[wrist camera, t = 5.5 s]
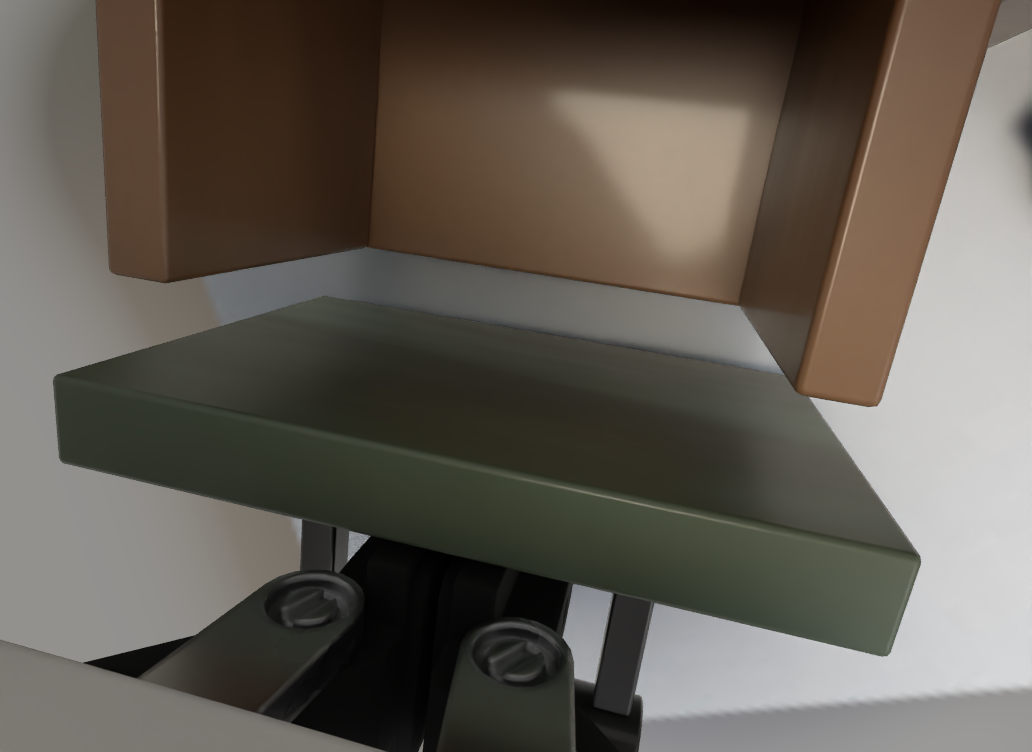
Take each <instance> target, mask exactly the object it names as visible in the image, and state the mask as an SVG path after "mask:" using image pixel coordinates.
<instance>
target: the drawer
mask: <svg viewBox="0 0 1032 752" xmlns="http://www.w3.org/2000/svg"><path fill="white" fill-rule="evenodd" d="M1000 4H1001V0H96V19H97V37H98V38H97V39H98V57H99V78H100V98H101V117H102V137H103V157H104V175H105V196H106V214H107V233H108V255H109V269H110V271H111V272H112V273H114V274H117V275H122V276H127V277H133V278H139V279H145V280H150V281H156V282H161V283H170V282H175V281H180V280H187V279H192V278H198V277H204V276H209V275H215V274H221V273H226V272H232V271H238V270H243V269H249V268H255V267H260V266H266V265H272V264H277V263H283V262H288V261H294V260H300V259H305V258H311V257H317V256H322V255H328V254H334V253H339V252H345V251H351V250H356V249H362V248H366V247H367V248H373V249H379V250H386V251H392V252H399V253H405V254H411V255H418V256H424V257H430V258H437V259H443V260H450V261H456V262H462V263H469V264H475V265H481V266H488V267H494V268H500V269H507V270H513V271H520V272H526V273H532V274H539V275H545V276H551V277H558V278H564V279H570V280H577V281H583V282H590V283H596V284H602V285H609V286H615V287H621V288H628V289H634V290H640V291H647V292H653V293H660V294H666V295H672V296H679V297H685V298H691V299H698V300H704V301H711V302H717V303H723V304H730V305H736V306H740V307H741V309H742V310H743V312H744V314H745V315H746V317H747V318H748V320H749V321H750V323H751V324H752V326H753V327H754V329H755V330H756V332H757V333H758V335H759V336H760V338H761V340H762V341H763V343H764V344H765V346H766V347H767V349H768V350H769V352H770V353H771V355H772V356H773V358H774V359H775V361H776V362H777V364H778V366H779V367H780V369H781V370H782V372H783V373H784V375H781V374H775V373H769V372H763V371H758V370H752V369H746V368H740V367H734V366H729V365H723V364H717V363H711V362H705V361H700V360H694V359H688V358H682V357H676V356H671V355H665V354H659V353H653V352H647V351H642V350H636V349H630V348H624V347H618V346H613V345H607V344H601V343H595V342H589V341H584V340H578V339H572V338H566V337H560V336H555V335H549V334H543V333H537V332H531V331H526V330H520V329H514V328H508V327H502V326H497V325H491V324H485V323H479V322H473V321H468V320H462V319H456V318H450V317H444V316H439V315H433V314H427V313H421V312H415V311H410V310H404V309H398V308H392V307H386V306H381V305H375V304H369V303H363V302H357V301H352V300H346V299H340V298H334V297H328V296H322V297H318V298H315V299H312V300H308V301H305V302H301V303H298V304H295V305H291V306H288V307H284V308H281V309H278V310H274V311H271V312H268V313H264V314H261V315H257V316H254V317H251V318H247V319H244V320H240V321H237V322H234V323H230V324H227V325H224V326H220V327H217V328H213V329H210V330H207V331H203V332H200V333H196V334H193V335H190V336H186V337H183V338H180V339H176V340H173V341H170V342H166V343H163V344H160V345H156V346H152V347H149V348H146V349H142V350H139V351H136V352H132V353H129V354H126V355H122V356H119V357H115V358H112V359H109V360H106V361H102V362H98V363H95V364H92V365H88V366H85V367H81V368H78V369H75V370H71V371H68V372H65V373H61V374H58V375H56V376H55V377H54V380H53V385H54V399H55V412H56V424H57V437H58V450H59V458H60V460H61V462H63V463H65V464H70V465H74V466H78V467H82V468H86V469H91V470H95V471H99V472H103V473H107V474H112V475H116V476H120V477H124V478H129V479H133V480H137V481H141V482H146V483H150V484H154V485H158V486H162V487H167V488H171V489H175V490H180V491H184V492H188V493H192V494H196V495H201V496H205V497H209V498H214V499H217V500H222V501H226V502H231V503H234V504H239V505H243V506H247V507H251V508H256V509H260V510H264V511H268V512H273V513H277V514H281V515H285V516H289V517H294V518H298V519H302V537H301V564H300V565H301V566H300V571H303V570H328V571H332V572H337V573H339V572H340V571H341V570H342V568H343V567H344V566H345V565H346V564H347V557H348V541H349V531H353V532H357V533H361V534H366V535H370V536H374V537H378V538H383V539H387V540H391V541H395V542H399V543H404V544H408V545H412V546H416V547H421V548H425V549H429V550H433V551H438V552H442V553H446V554H450V555H455V556H459V557H463V558H467V559H471V560H476V561H480V562H484V563H488V564H493V565H497V566H501V567H505V568H510V569H514V570H518V571H522V572H526V573H531V574H535V575H539V576H543V577H548V578H552V579H556V580H560V581H565V582H569V583H573V584H577V585H582V586H586V587H590V588H594V589H598V590H603V591H607V592H611V593H612V597H611V602H610V608H609V613H608V618H607V623H606V628H605V633H604V638H603V644H602V649H601V654H600V659H599V664H598V669H597V674H596V679H595V684H594V683H590V682H586V681H583V680H579V679H575V678H574V695H575V702H576V703H577V704H578V705H579V706H580V708H581V709H582V710H583V711H584V712H585V713H586V714H587V716H588V717H589V718H590V719H591V720H592V721H593V723H594V724H595V725H596V726H597V727H598V728H599V729H600V731H601V732H602V733H603V734H604V735H605V736H606V737H607V739H608V740H609V741H610V742H611V743H612V744H613V745H614V747H615V748H616V749H617V750H618V751H619V752H638V750H639V742H640V735H641V727H642V716H643V700H642V697H641V696H640V695H636V694H635V690H636V685H637V681H638V676H639V672H640V667H641V662H642V658H643V653H644V649H645V644H646V639H647V635H648V630H649V625H650V621H651V616H652V612H653V607H654V603H658V604H662V605H666V606H670V607H675V608H679V609H683V610H687V611H692V612H696V613H700V614H704V615H709V616H713V617H717V618H721V619H725V620H730V621H734V622H738V623H742V624H747V625H751V626H755V627H759V628H764V629H768V630H772V631H776V632H780V633H785V634H789V635H793V636H797V637H802V638H806V639H810V640H814V641H819V642H823V643H827V644H831V645H836V646H840V647H844V648H848V649H852V650H857V651H861V652H865V653H869V654H874V655H878V656H888V655H889V653H890V652H891V649H892V646H893V643H894V640H895V637H896V634H897V631H898V628H899V626H900V623H901V620H902V617H903V614H904V611H905V608H906V605H907V602H908V600H909V597H910V594H911V591H912V588H913V585H914V582H915V579H916V576H917V573H918V571H919V568H920V565H921V559H920V555H919V554H918V552H917V551H916V549H915V548H914V547H913V545H912V544H911V542H910V541H909V539H908V538H907V537H906V535H905V534H904V532H903V531H902V529H901V528H900V527H899V525H898V524H897V522H896V521H895V519H894V518H893V517H892V515H891V514H890V512H889V511H888V509H887V508H886V507H885V505H884V504H883V502H882V501H881V499H880V498H879V497H878V495H877V494H876V492H875V491H874V490H873V488H872V487H871V485H870V484H869V482H868V481H867V480H866V478H865V477H864V475H863V474H862V472H861V471H860V470H859V468H858V467H857V465H856V464H855V462H854V461H853V460H852V458H851V457H850V455H849V454H848V452H847V451H846V450H845V448H844V447H843V445H842V444H841V442H840V441H839V440H838V438H837V437H836V435H835V434H834V432H833V431H832V430H831V428H830V427H829V425H828V424H827V422H826V421H825V420H824V418H823V417H822V415H821V414H820V412H819V411H818V410H817V408H816V407H815V405H814V404H813V403H812V401H811V400H810V398H809V397H814V398H820V399H825V400H831V401H837V402H842V403H848V404H854V405H859V406H865V407H873V406H877V405H878V404H879V403H880V401H881V399H882V396H883V392H884V389H885V386H886V382H887V379H888V376H889V372H890V369H891V366H892V363H893V359H894V356H895V353H896V349H897V346H898V343H899V339H900V336H901V333H902V329H903V326H904V323H905V319H906V316H907V313H908V309H909V306H910V303H911V299H912V296H913V293H914V289H915V286H916V283H917V279H918V276H919V273H920V270H921V266H922V263H923V260H924V256H925V253H926V250H927V246H928V243H929V240H930V236H931V233H932V230H933V226H934V223H935V220H936V216H937V213H938V210H939V206H940V203H941V200H942V196H943V193H944V190H945V186H946V183H947V180H948V176H949V173H950V170H951V167H952V163H953V160H954V157H955V153H956V150H957V147H958V143H959V140H960V137H961V133H962V130H963V127H964V123H965V120H966V117H967V113H968V110H969V107H970V103H971V100H972V97H973V93H974V90H975V87H976V83H977V80H978V77H979V73H980V70H981V67H982V64H983V60H984V57H985V54H986V50H987V47H988V44H989V40H990V37H991V34H992V30H993V27H994V24H995V20H996V17H997V14H998V10H999V7H1000Z"/></svg>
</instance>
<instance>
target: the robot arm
mask: <svg viewBox="0 0 1032 752" xmlns="http://www.w3.org/2000/svg"><path fill="white" fill-rule="evenodd" d="M572 586H573V583H569V582H565V581H560V580H556V579H552V578H548V577H543V576H539V575H535V574H531V573H526V572H522V571H518V570H514V569H510V568H505V567H501V566H497V565H493V564H488V563H484V562H480V561H476V560H471V559H467V558H463V557H459V556H455V555H450V554H446V553H442V552H438V551H433V550H429V549H425V548H421V547H416V546H412V545H408V544H404V543H399V542H395V541H391V540H387V539H383V538H378V537H374V536H370V537H369V539H368V540H367V541H366V542H365V543H364V544H363V545H362V547H361V548H360V549H359V550H358V551H357V552H356V554H355V555H354V556H353V557H352V558H351V559H350V560H349V562H348V563H347V564H346V565H345V566H344V567H343V568H342V570H341V571H340V572H339V573H337V572H332V571H328V570H303V571H295V572H292V573H288V574H285V575H282V576H279V577H277V578H276V579H273V580H272V581H270V582H268V583H266V584H265V585H263V586H262V587H261V588H259V589H258V590H257V591H255V592H254V593H252V594H251V595H250V596H248V597H247V598H246V599H244V600H243V601H242V602H240V603H239V604H237V605H236V606H235V607H233V608H232V609H231V610H229V611H228V612H227V613H225V614H224V615H222V616H221V617H220V618H218V619H217V620H216V621H214V622H213V623H211V624H210V625H209V626H207V627H206V628H205V629H203V630H202V631H201V632H199V633H198V634H196V635H195V636H190V637H186V638H183V639H178V640H174V641H170V642H166V643H162V644H158V645H154V646H150V647H146V648H141V649H138V650H133V651H129V652H125V653H121V654H117V655H113V656H109V657H105V658H101V659H97V660H92V661H88V662H84V663H81V662H77V661H73V660H70V659H66V658H63V657H59V656H56V655H52V654H49V653H45V652H42V651H38V650H34V649H31V648H27V647H24V646H20V645H17V644H13V643H10V642H6V641H3V640H0V752H418V751H419V748H420V746H421V744H422V742H423V740H424V744H423V752H619V751H618V750H617V749H616V748H615V747H614V745H613V744H612V743H611V742H610V741H609V740H608V739H607V737H606V736H605V735H604V734H603V733H602V732H601V731H600V729H599V728H598V727H597V726H596V725H595V724H594V723H593V721H592V720H591V719H590V718H589V717H588V716H587V714H586V713H585V712H584V711H583V710H582V709H581V708H580V706H579V705H578V704H577V703H576V702H575V695H574V661H573V657H572V653H571V649H570V648H569V646H568V645H567V643H566V642H565V641H564V639H563V638H562V637H563V633H564V628H565V623H566V618H567V613H568V608H569V603H570V597H571V592H572Z"/></svg>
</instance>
